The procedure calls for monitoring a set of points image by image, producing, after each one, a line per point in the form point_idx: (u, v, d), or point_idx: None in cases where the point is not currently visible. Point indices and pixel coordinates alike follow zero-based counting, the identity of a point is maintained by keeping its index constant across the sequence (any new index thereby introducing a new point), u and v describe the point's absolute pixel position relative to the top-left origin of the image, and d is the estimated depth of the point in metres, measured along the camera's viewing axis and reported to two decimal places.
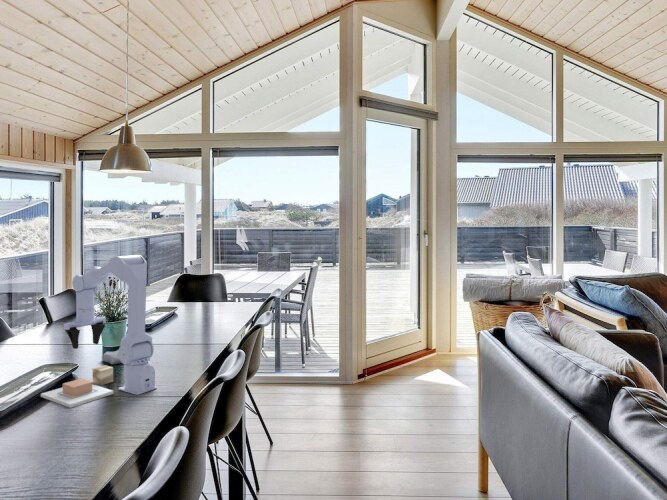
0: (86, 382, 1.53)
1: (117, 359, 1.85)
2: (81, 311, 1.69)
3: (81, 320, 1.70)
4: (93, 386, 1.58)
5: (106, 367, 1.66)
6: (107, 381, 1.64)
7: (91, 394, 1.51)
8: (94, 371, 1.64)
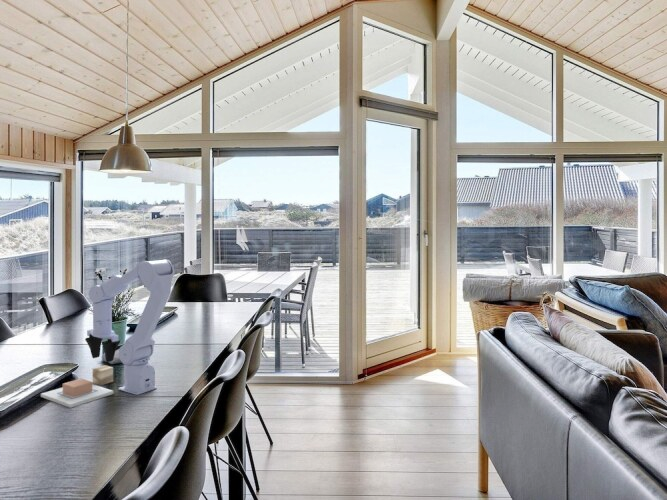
0: (86, 382, 1.53)
1: (117, 359, 1.86)
2: None
3: None
4: (93, 386, 1.58)
5: (106, 367, 1.66)
6: (107, 381, 1.64)
7: (91, 394, 1.51)
8: (94, 371, 1.64)
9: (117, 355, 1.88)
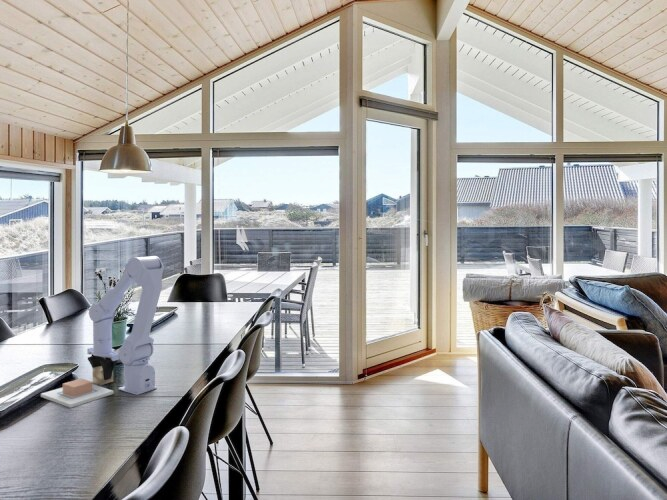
0: (86, 382, 1.53)
1: None
2: None
3: None
4: (93, 386, 1.58)
5: None
6: (107, 381, 1.64)
7: (91, 394, 1.51)
8: (94, 371, 1.64)
9: None
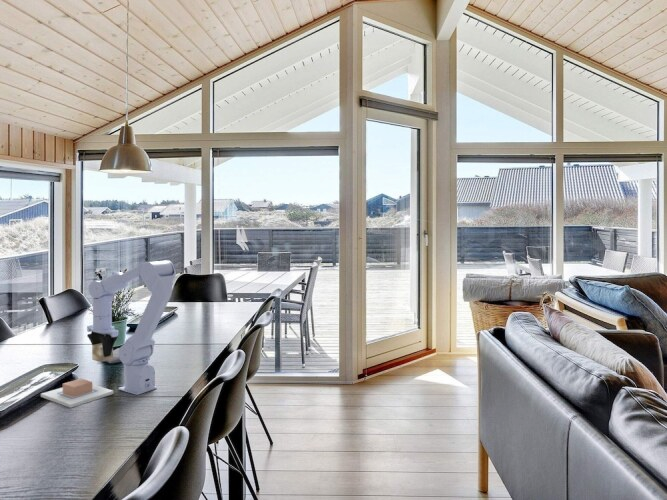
0: (86, 382, 1.53)
1: (115, 358, 1.86)
2: None
3: None
4: (93, 386, 1.58)
5: None
6: (107, 358, 1.64)
7: (91, 394, 1.51)
8: (94, 348, 1.63)
9: (116, 354, 1.89)
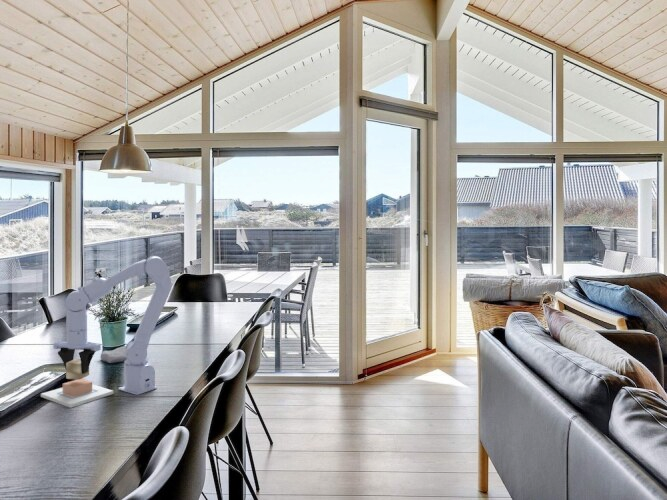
0: (86, 382, 1.53)
1: (114, 358, 1.87)
2: None
3: (66, 342, 1.50)
4: (93, 386, 1.58)
5: None
6: (84, 375, 1.52)
7: (91, 394, 1.51)
8: (69, 365, 1.50)
9: (115, 354, 1.89)
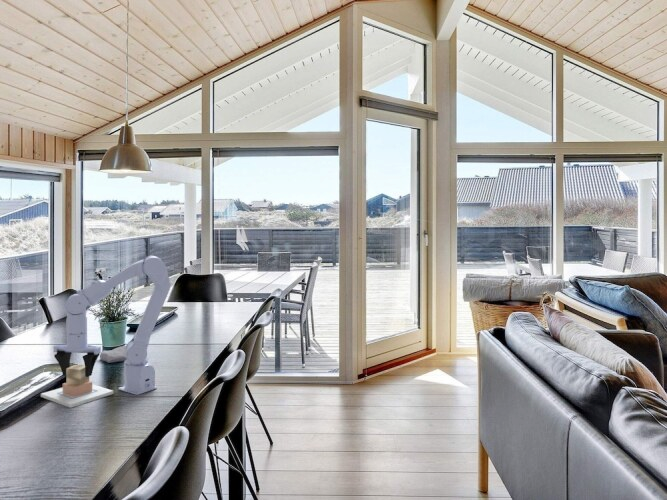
0: (86, 382, 1.53)
1: (114, 358, 1.87)
2: None
3: (66, 345, 1.50)
4: (93, 386, 1.58)
5: (81, 366, 1.53)
6: (85, 380, 1.52)
7: (91, 394, 1.51)
8: (69, 371, 1.50)
9: (114, 354, 1.89)
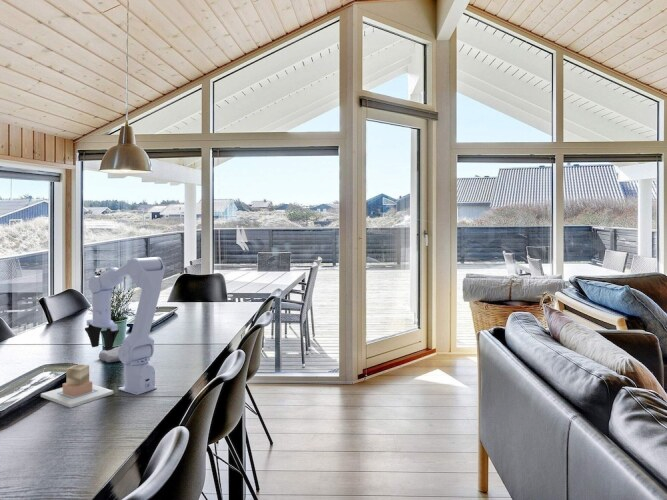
0: (86, 382, 1.53)
1: (113, 357, 1.87)
2: None
3: None
4: (93, 386, 1.58)
5: (81, 366, 1.53)
6: (85, 380, 1.52)
7: (91, 394, 1.51)
8: (69, 371, 1.50)
9: (113, 354, 1.90)
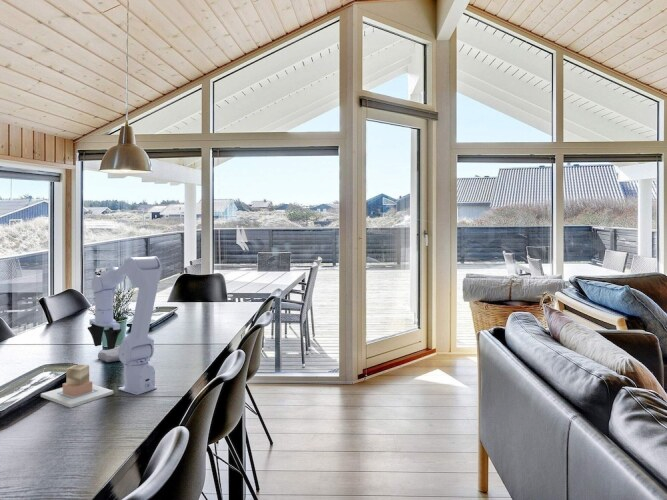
0: (86, 382, 1.53)
1: (112, 357, 1.88)
2: None
3: None
4: (93, 386, 1.58)
5: (81, 366, 1.53)
6: (85, 380, 1.52)
7: (91, 394, 1.51)
8: (69, 371, 1.50)
9: (112, 353, 1.90)
